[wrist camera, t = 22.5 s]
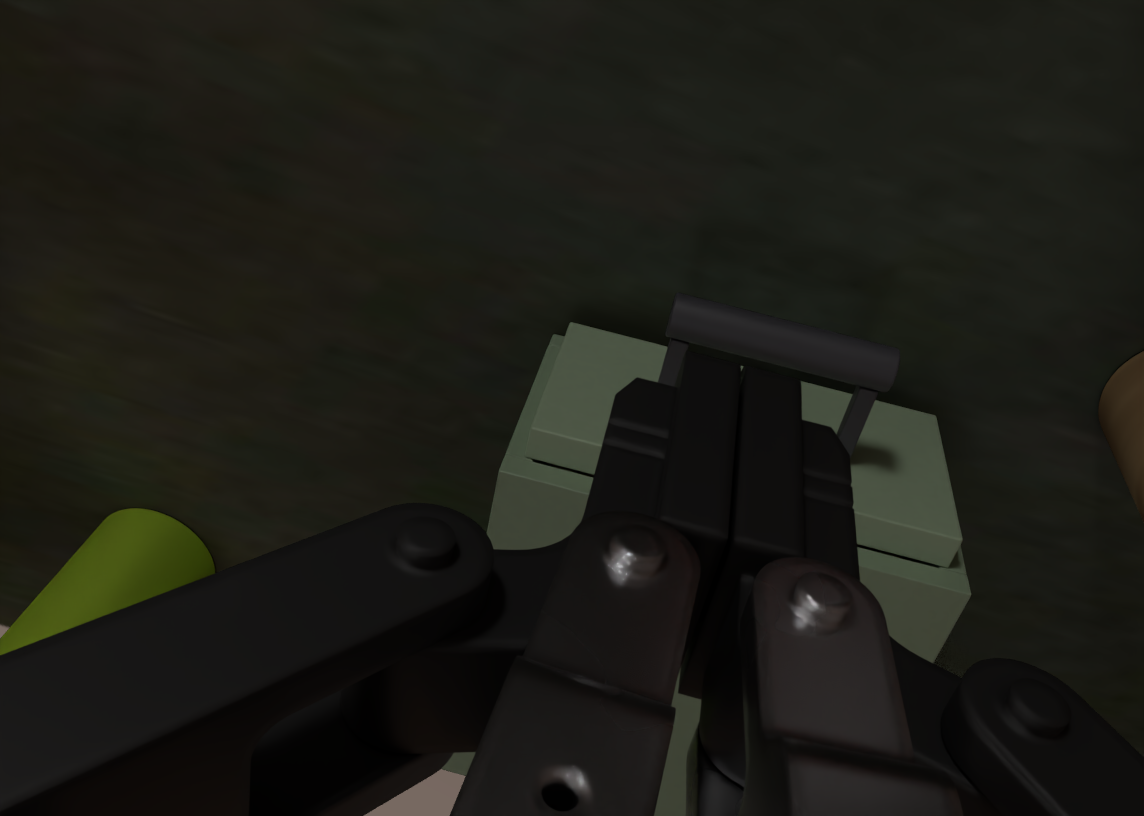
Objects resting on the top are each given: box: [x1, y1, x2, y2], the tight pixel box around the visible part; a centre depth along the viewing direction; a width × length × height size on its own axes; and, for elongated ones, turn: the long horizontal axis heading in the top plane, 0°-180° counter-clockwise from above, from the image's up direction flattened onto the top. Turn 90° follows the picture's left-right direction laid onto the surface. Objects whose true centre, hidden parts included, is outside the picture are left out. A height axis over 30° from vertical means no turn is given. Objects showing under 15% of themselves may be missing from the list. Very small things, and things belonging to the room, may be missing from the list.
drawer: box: [525, 293, 963, 568], centre depth 38 cm, size 18×14×7 cm
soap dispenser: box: [0, 508, 215, 655], centre depth 42 cm, size 6×7×20 cm
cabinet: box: [442, 334, 971, 816], centre depth 40 cm, size 15×15×9 cm
